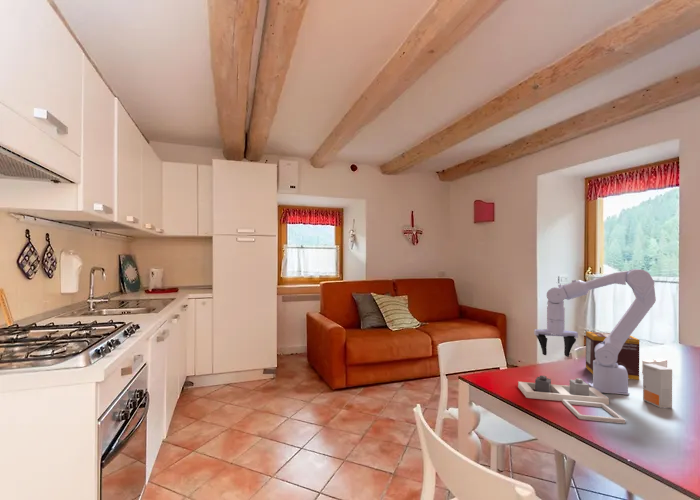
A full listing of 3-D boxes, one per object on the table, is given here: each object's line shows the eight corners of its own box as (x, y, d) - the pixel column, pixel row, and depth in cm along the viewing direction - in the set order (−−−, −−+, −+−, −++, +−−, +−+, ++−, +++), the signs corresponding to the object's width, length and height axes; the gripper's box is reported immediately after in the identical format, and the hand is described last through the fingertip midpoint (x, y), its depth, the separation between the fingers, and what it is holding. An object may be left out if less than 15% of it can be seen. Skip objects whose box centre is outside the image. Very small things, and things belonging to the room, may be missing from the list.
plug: (550, 393, 117) (550, 376, 118) (548, 397, 114) (548, 379, 114) (537, 391, 120) (537, 373, 120) (535, 394, 116) (535, 376, 117)
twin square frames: (593, 393, 118) (593, 387, 118) (608, 405, 109) (608, 398, 109) (518, 387, 123) (518, 381, 123) (526, 397, 113) (526, 391, 114)
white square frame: (603, 406, 108) (603, 403, 108) (625, 423, 97) (625, 419, 97) (562, 402, 110) (562, 399, 110) (579, 418, 99) (579, 415, 99)
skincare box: (642, 400, 113) (642, 363, 114) (654, 400, 114) (654, 363, 114) (660, 408, 107) (660, 369, 108) (673, 408, 108) (672, 369, 108)
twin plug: (582, 395, 117) (582, 377, 117) (589, 400, 112) (589, 382, 112) (569, 394, 117) (569, 376, 118) (575, 399, 113) (575, 380, 113)
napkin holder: (665, 370, 148) (665, 357, 148) (684, 379, 136) (684, 364, 137) (624, 367, 151) (624, 354, 151) (639, 375, 140) (639, 361, 140)
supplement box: (640, 380, 133) (640, 339, 133) (592, 375, 138) (593, 335, 139) (629, 372, 143) (629, 334, 143) (585, 367, 148) (585, 330, 148)
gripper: (572, 318, 134) (572, 353, 134) (531, 316, 137) (531, 351, 136) (580, 321, 127) (580, 359, 127) (537, 319, 130) (537, 356, 129)
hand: (555, 355), depth 131 cm, fingers open, 7 cm apart
